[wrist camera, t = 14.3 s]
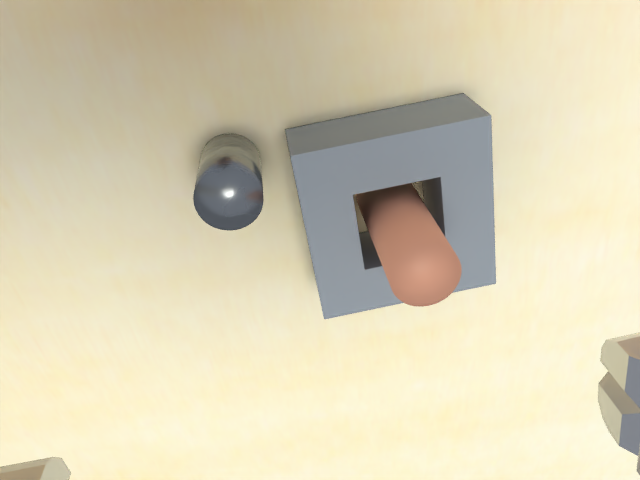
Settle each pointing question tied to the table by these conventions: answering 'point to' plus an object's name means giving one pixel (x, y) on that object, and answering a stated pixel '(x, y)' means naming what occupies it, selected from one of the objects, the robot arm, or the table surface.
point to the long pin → (410, 245)
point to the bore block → (387, 171)
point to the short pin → (229, 183)
